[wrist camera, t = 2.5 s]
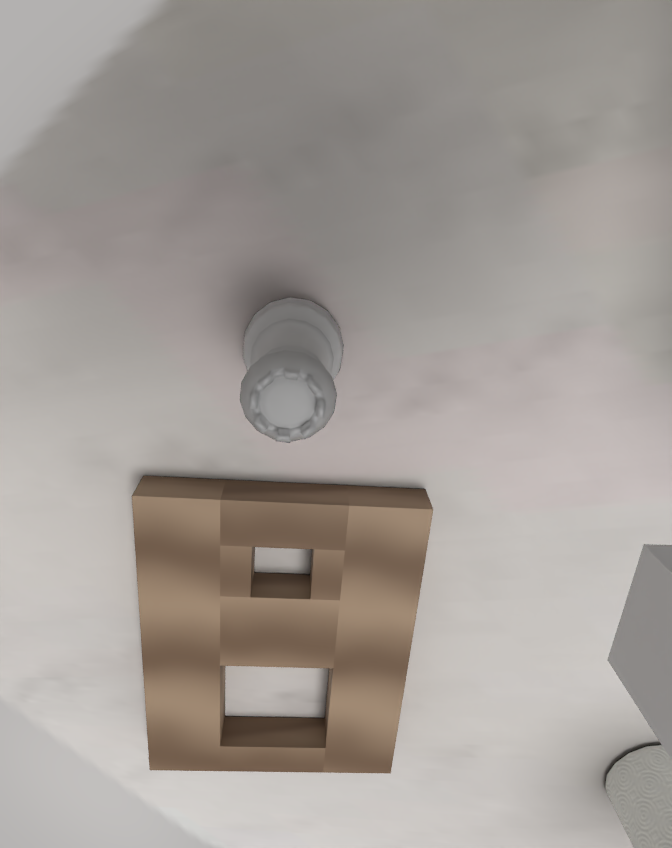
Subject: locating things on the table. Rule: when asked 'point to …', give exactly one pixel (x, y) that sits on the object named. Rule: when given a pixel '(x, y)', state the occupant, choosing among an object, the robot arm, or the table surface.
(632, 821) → the paper towel roll
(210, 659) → the socket board
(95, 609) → the table surface
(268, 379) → the rook chess piece
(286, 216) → the table surface
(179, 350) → the table surface
